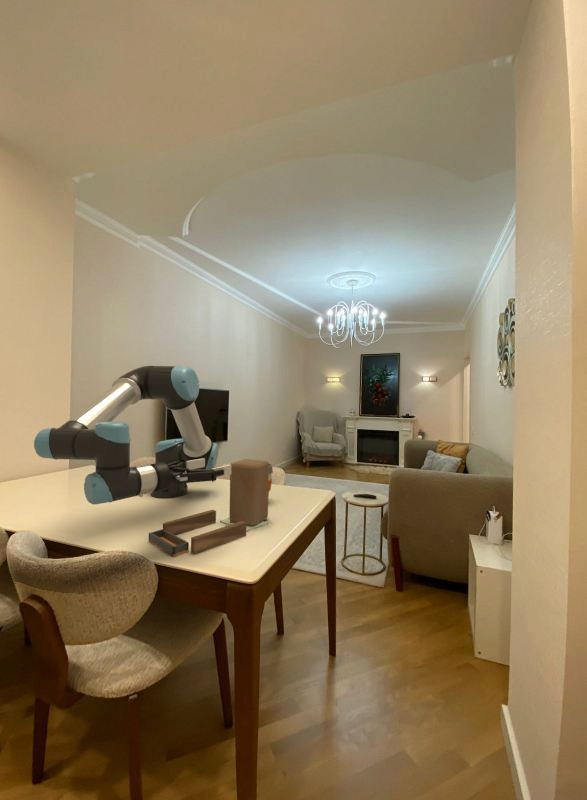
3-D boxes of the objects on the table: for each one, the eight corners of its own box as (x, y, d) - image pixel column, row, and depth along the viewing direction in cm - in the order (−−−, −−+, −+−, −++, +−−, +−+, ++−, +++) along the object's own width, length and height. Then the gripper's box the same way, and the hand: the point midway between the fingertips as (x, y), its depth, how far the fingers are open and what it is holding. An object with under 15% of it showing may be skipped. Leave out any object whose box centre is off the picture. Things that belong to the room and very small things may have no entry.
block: (253, 527, 115) (254, 465, 114) (228, 522, 119) (229, 462, 119) (268, 518, 124) (269, 460, 123) (245, 513, 128) (245, 458, 128)
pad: (220, 521, 120) (220, 520, 120) (242, 514, 128) (242, 513, 128) (245, 532, 112) (245, 530, 112) (267, 523, 119) (267, 522, 119)
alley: (162, 536, 107) (162, 523, 107) (212, 521, 121) (212, 509, 121) (194, 554, 96) (195, 539, 96) (246, 535, 109) (246, 522, 109)
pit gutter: (148, 541, 103) (148, 533, 103) (163, 537, 107) (163, 528, 107) (173, 556, 94) (173, 547, 94) (188, 551, 97) (188, 542, 97)
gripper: (130, 483, 103) (194, 471, 119) (175, 502, 87) (242, 485, 102) (130, 457, 103) (194, 448, 119) (175, 472, 86) (243, 459, 102)
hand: (217, 465), depth 111 cm, fingers open, 13 cm apart
